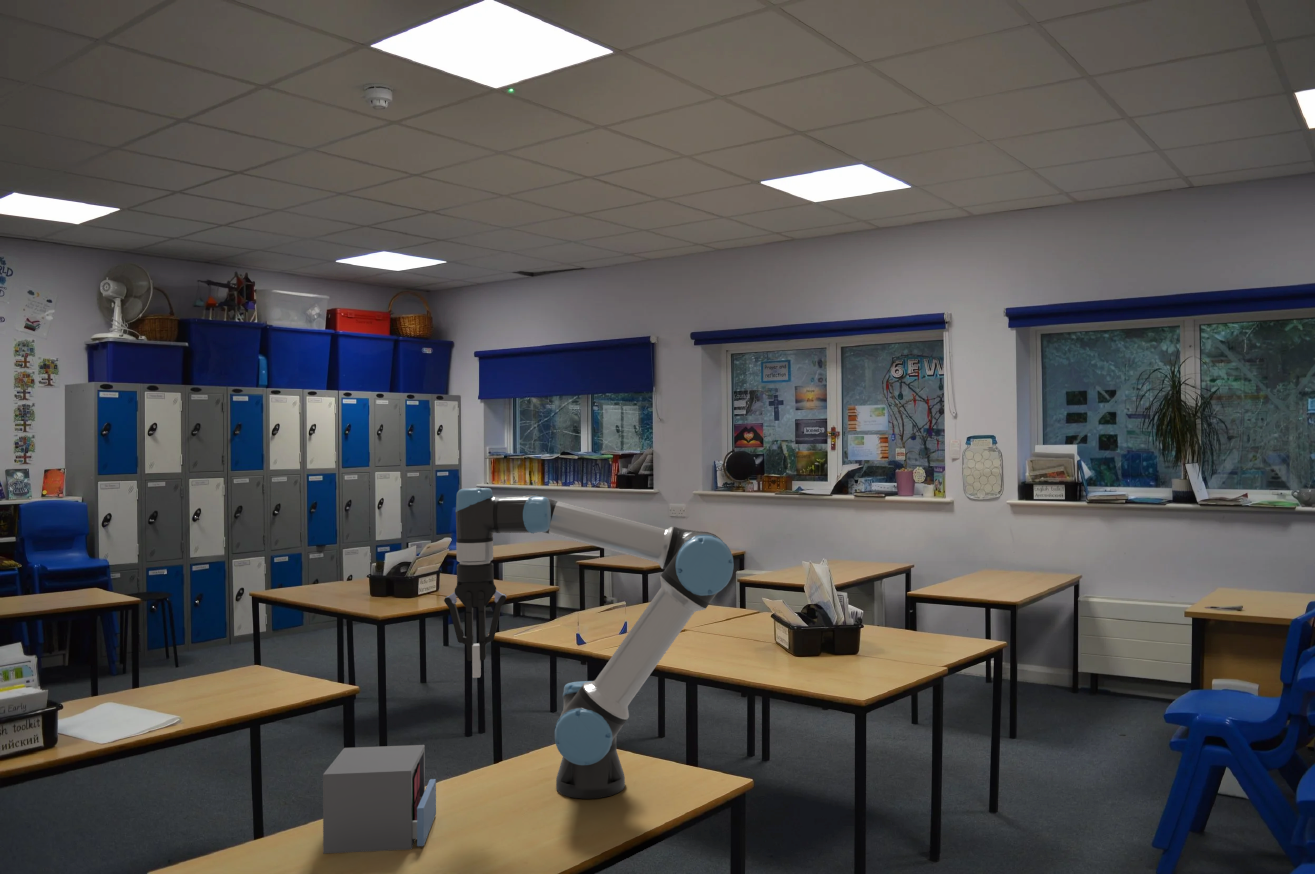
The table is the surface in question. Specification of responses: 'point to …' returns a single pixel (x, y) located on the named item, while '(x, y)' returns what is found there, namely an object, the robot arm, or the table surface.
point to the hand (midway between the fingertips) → (476, 675)
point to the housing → (370, 798)
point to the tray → (425, 814)
